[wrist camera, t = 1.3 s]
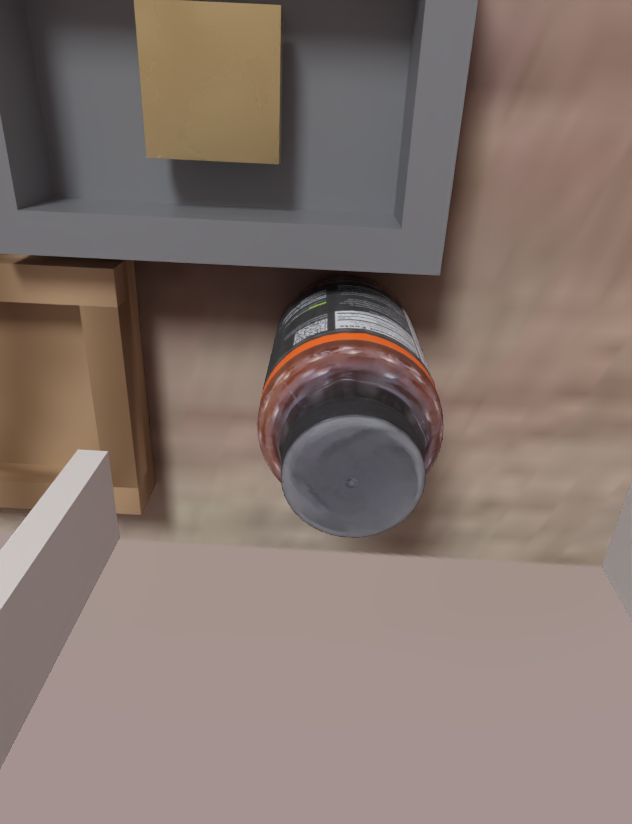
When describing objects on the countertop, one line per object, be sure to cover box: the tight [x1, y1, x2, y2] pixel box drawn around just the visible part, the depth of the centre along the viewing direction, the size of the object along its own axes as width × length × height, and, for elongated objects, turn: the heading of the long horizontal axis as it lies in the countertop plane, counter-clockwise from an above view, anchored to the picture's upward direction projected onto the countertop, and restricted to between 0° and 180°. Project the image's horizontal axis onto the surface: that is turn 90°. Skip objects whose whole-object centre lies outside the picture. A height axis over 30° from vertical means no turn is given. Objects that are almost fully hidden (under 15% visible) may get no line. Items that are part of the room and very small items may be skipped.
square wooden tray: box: [0, 254, 155, 515], centre depth 26 cm, size 12×12×2 cm
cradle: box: [0, 0, 478, 275], centre depth 20 cm, size 16×11×4 cm
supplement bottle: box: [258, 276, 443, 538], centre depth 21 cm, size 6×6×11 cm
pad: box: [134, 0, 284, 164], centre depth 20 cm, size 4×4×1 cm
